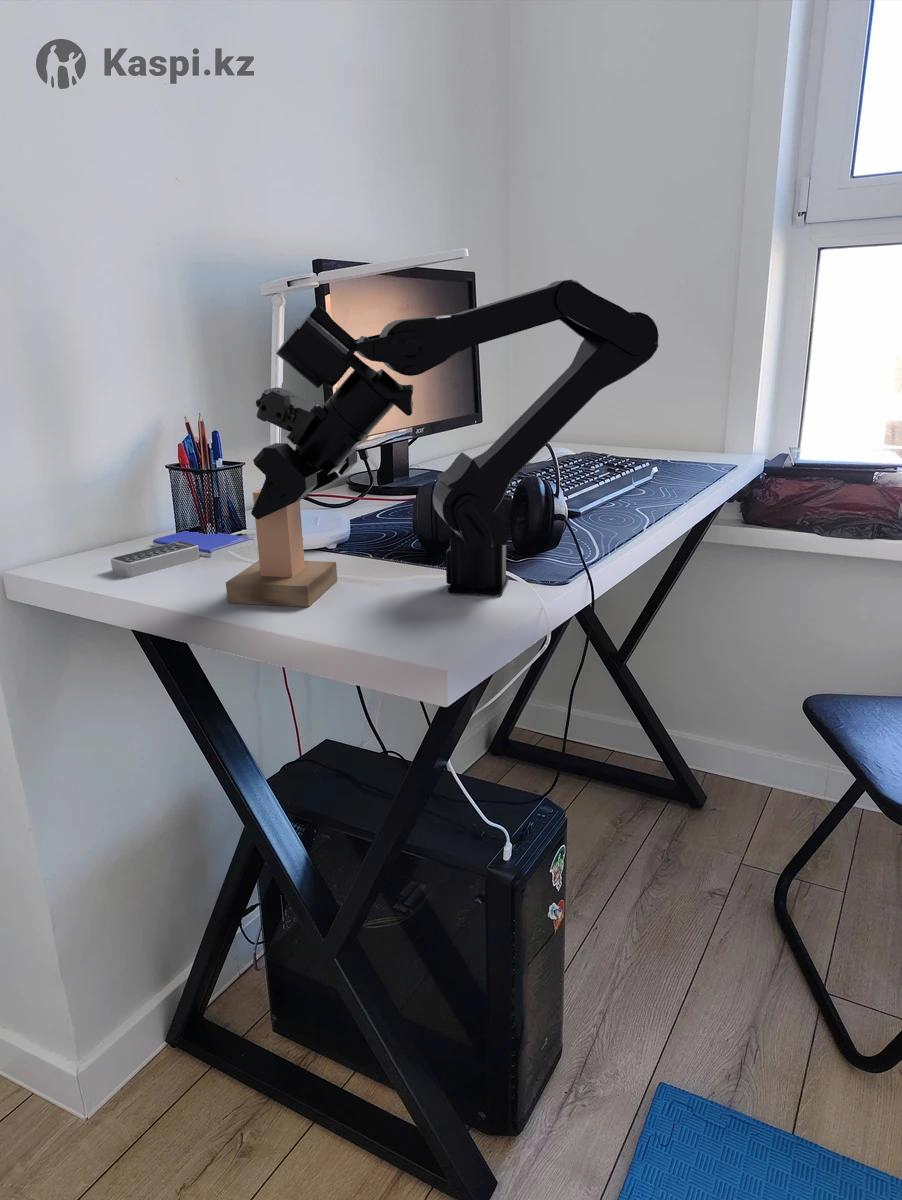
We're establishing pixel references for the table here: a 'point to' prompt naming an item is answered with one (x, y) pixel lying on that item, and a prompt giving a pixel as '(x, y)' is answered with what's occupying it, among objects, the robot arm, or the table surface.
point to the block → (280, 541)
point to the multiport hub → (154, 559)
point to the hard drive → (207, 542)
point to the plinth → (282, 585)
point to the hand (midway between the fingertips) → (266, 509)
